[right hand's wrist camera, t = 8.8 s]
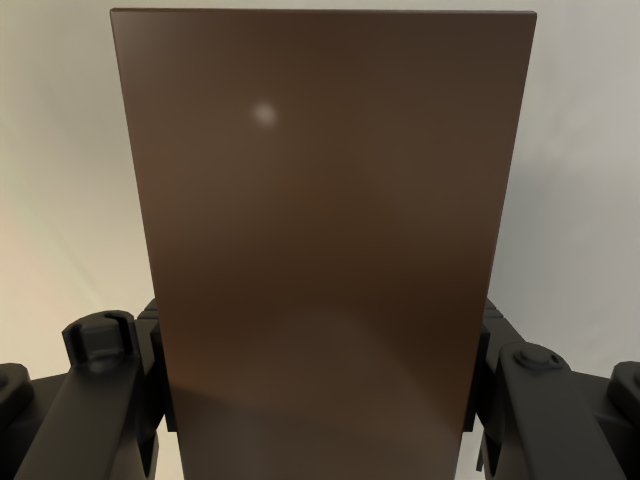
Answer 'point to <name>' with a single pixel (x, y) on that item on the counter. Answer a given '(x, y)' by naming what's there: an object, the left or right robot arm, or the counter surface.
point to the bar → (321, 226)
